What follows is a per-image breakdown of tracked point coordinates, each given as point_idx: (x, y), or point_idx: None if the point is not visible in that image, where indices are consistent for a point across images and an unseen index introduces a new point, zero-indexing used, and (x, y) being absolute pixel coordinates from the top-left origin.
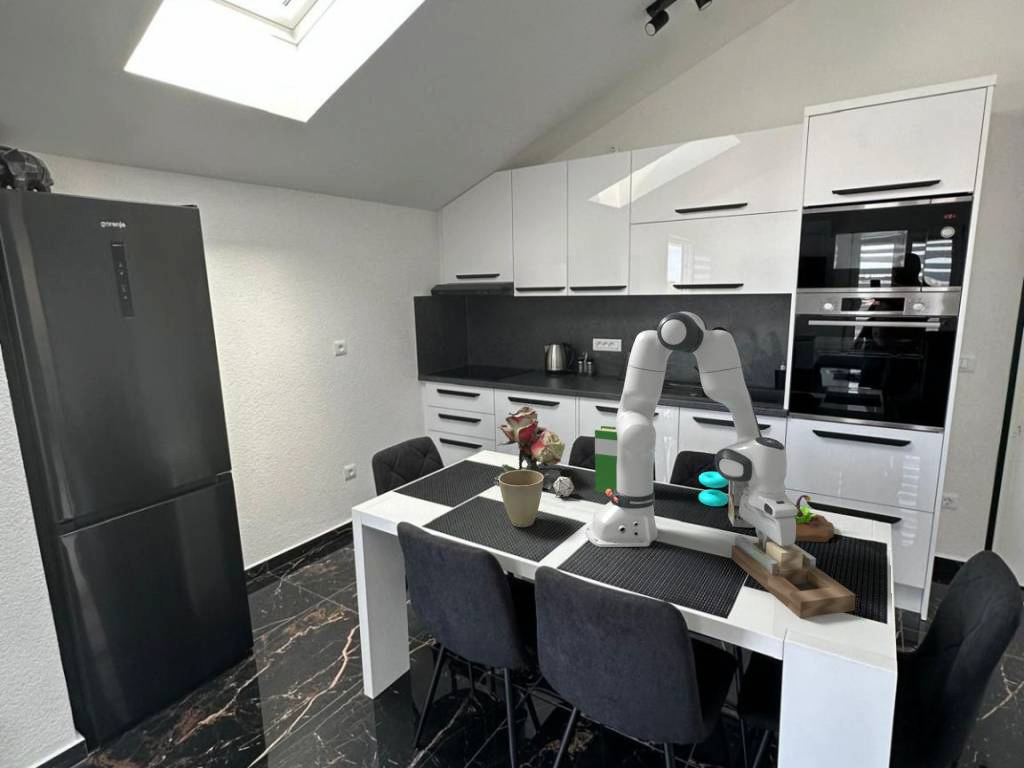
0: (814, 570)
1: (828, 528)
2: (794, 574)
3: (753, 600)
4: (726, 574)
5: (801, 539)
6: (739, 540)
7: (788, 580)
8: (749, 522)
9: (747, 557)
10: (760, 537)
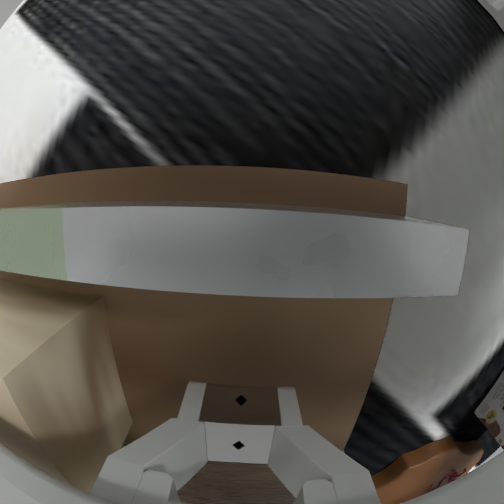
0: None
1: None
2: None
3: (16, 97)
4: (202, 56)
5: None
6: (385, 218)
7: None
8: (487, 476)
9: (168, 175)
10: (280, 446)
